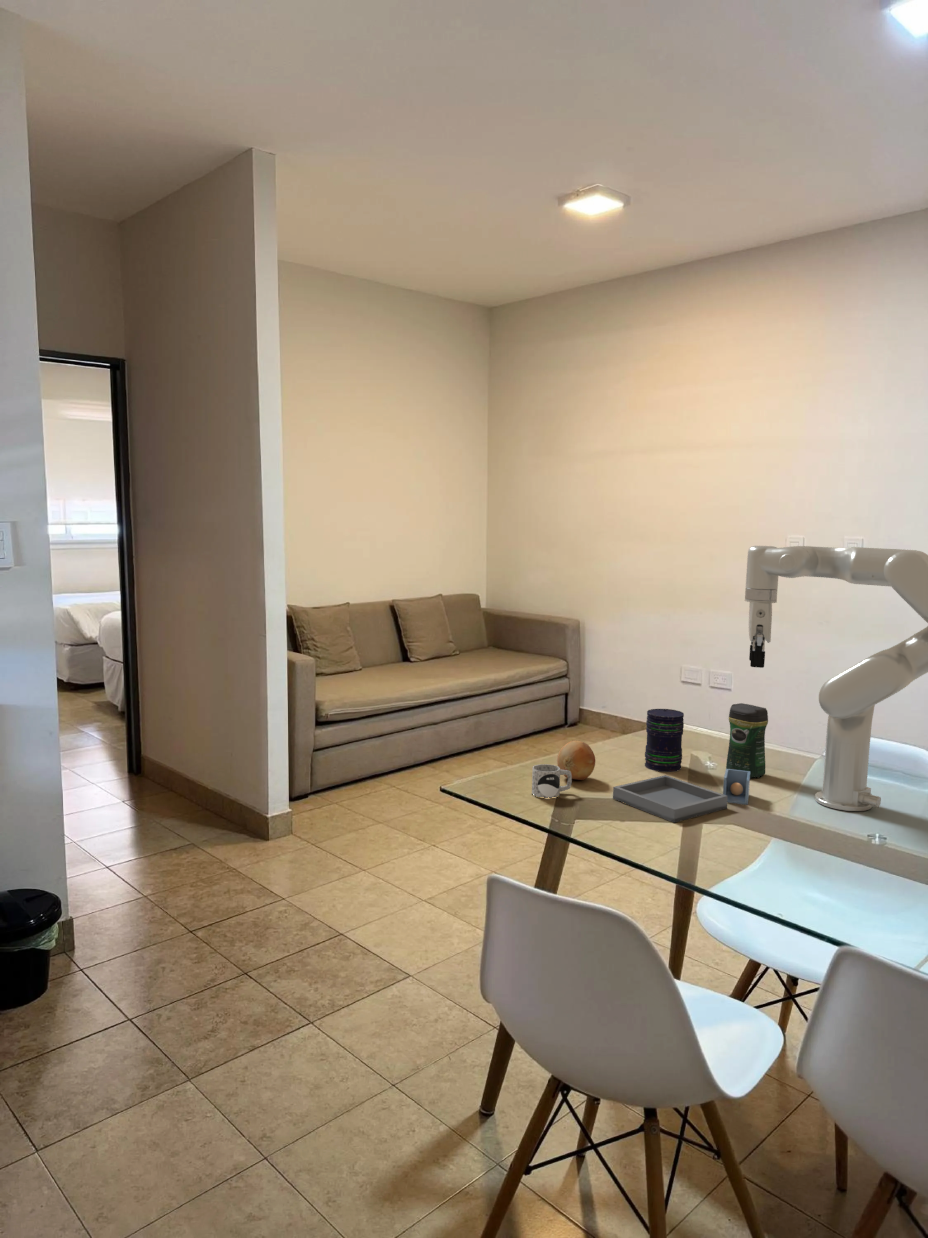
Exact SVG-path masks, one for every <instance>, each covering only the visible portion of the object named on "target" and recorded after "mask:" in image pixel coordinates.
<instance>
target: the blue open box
mask: <svg viewBox="0 0 928 1238" xmlns="http://www.w3.org/2000/svg"><path fill="white" fill-rule="evenodd" d="M733 783H740V784H741V785H742V787H743V792H742V793H741V794H740V795H734V794H732V792H731V791H730V787H731V785H732V784H733ZM750 783H751V777H750V771H742V770H733V769H726V768H725V771H724V776H723V787H722V794H724V795H727V796H728V799H727V804H729V803H730V804H737V805H746V806H747V805H749V798H750V785H751V784H750Z"/></svg>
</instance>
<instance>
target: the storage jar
mask: <svg viewBox="0 0 928 1238" xmlns="http://www.w3.org/2000/svg"><path fill="white" fill-rule="evenodd" d="M684 717H685V714H684V712H682V711H680V710H676V709H672V708H671V709H669V708H652V709H648V710H647V711H646V721H645V722H646V723H645V724H646V728H645V729H646V745H645V751H644V761H645V763H644V767H645V768H646V769H648V770H651V771H655V772H659V773H660V772H661V773H674V772H679V771H681V769H682V760H683V748H682V743H683V741H682V739H683V735H684V726H685V725H684V724H685V723H684Z"/></svg>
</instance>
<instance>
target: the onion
mask: <svg viewBox="0 0 928 1238" xmlns="http://www.w3.org/2000/svg"><path fill="white" fill-rule="evenodd" d="M556 761H557V763H556V764H557V766H558V767H560V770H569V771H570V772H571V775H572V780H576V781H584V780H586V779H587V778H589V777H590V776H591V775H592V773H593V771H594V770H595V766H596V756H595V753H594V751H593V749H592V748H591V746H590V745H589V744H588V743H586V742H585V741H580V740H573V739H572V740H570V741H569V742H567V743H566V744H564V745H563V746H562V747H561V748H560V750H559V751H558V755H557V759H556ZM563 776H564V777H565V778H567V779H568V776H567V775H566V774H564V775H563Z"/></svg>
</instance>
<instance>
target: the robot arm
mask: <svg viewBox="0 0 928 1238" xmlns="http://www.w3.org/2000/svg"><path fill="white" fill-rule="evenodd" d="M746 558H747V559H746V572H745V573H746V577H745V592H744V594H745V595H744V601H745V602H747V603H749V611H748V637H749V641H750V645H749V655H748V656H749V658H748V659H749V661H750V667H751V668H758V669H759V668H760V669H761V668H762V669H763V668H764V667H765V659H766V651H765V649H766V648H765V642H767V643H768V644H770V643H771V641H772V639H771V638H772V623H773V622H772V620H773V604H775V603H778V602H777V601H778V587H779V577H782V578H786V579H787V578H788V579H795V578H801V577H803V578H804V577H809V578H810V577H811V578H813V577H814V578H826V579H828V578H829V579H837V580H842V581H845V582H846V583H849V584H854V585H862V586H863V585H866V586H879V587H890V588H892V589H893V590H894V591H895V592H896V593H897V594H898V596H899V597H901V598H902V599H903V601H904V602H906V603H907V604H908V605H909V607H911V609H912V610H914V611H915V613H917V615H918V616H920V618H921V619H923V620H924V622H926V623H927V624H928V554H927V553H925V552H924V551H922V550H916V549H900V548H879V547H877V548H875V547H862V546H861V547H860V546H858V547H855V546H853V547H829V546H827V547H826V546H811V545H797V546H785V547H777V546H772V545H753V546H750V547H749V548H748V550H747V557H746ZM927 673H928V625H927V626H926V627H924V628H923V629H920V630H919V631H918V632H916V633H914V634H913V635H911V636H909V637H908V638H906V639H905V640H903V641H901V642H899V643H897V644H896V645H893V646H891V647H889V648H887V649H883V650H881V651H878V652H875V653H874V654H871V655H870V656H868V657H867V658H865V659H863V660H861V661H859V662H858V663H856V664H854V665H853V666H851V667H849V668H847V669H845V670H844V671H842V672H840V673H839V674H837V675H835V676H833V677H831V678H830V679H828V680H827V681H826V682H824V684H823V685H822V686H821V688H819V689H820V690H819V692H818V703H819V706H820V708H821V710H822V711H823V712H824V713H826V714H827V716H828V717H827V725H826V736H825V748H824V749H825V752H824V764H823V780H822V790H820V791H817V792H816V793H815V795H814V800H815V801H816V802H817V803H819V804H820V805H821V806H824V807H827V808H831V809H833V810H834V809H835V810H839V811H847V812H863V811H864V812H865V811H868V810H871V809H872V808H873V807H875V808H879V807H880V806H881V802H882V797H881V796H878V795H873V794H872V793H871V792H872V788H871V787H868V786H867V784H868V773H869V761H870V760H869V759H870V747H871V746H870V745H871V738H872V737H871V736H872V724H873V718H874V710H875V706H876V705H877V704H878V703H881V702H883V701H884V700H886V699H888V698H890V697H892V696H894V695H895V694H897V693H899V692H900V691H902V690H903V689H905V688H906V687H908V686H909V685H910V684H911V683H913V682H914V681H915V680H917V679H919V678H920V677H922V676H924V675H926V674H927Z"/></svg>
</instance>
